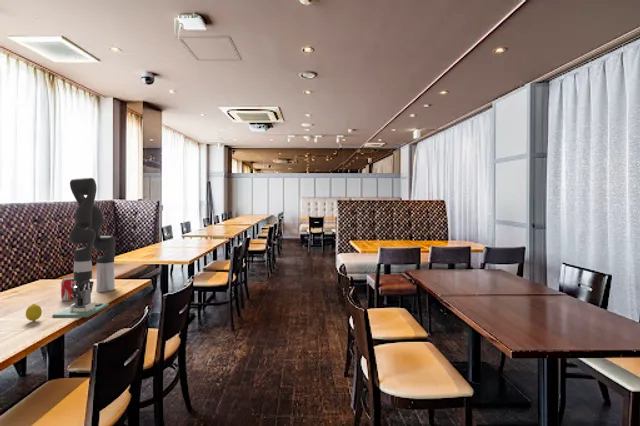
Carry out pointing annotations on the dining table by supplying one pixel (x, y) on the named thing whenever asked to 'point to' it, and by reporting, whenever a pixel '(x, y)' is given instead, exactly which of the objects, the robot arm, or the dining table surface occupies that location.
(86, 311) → the board
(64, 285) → the soda can
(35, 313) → the lemon
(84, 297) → the plug
